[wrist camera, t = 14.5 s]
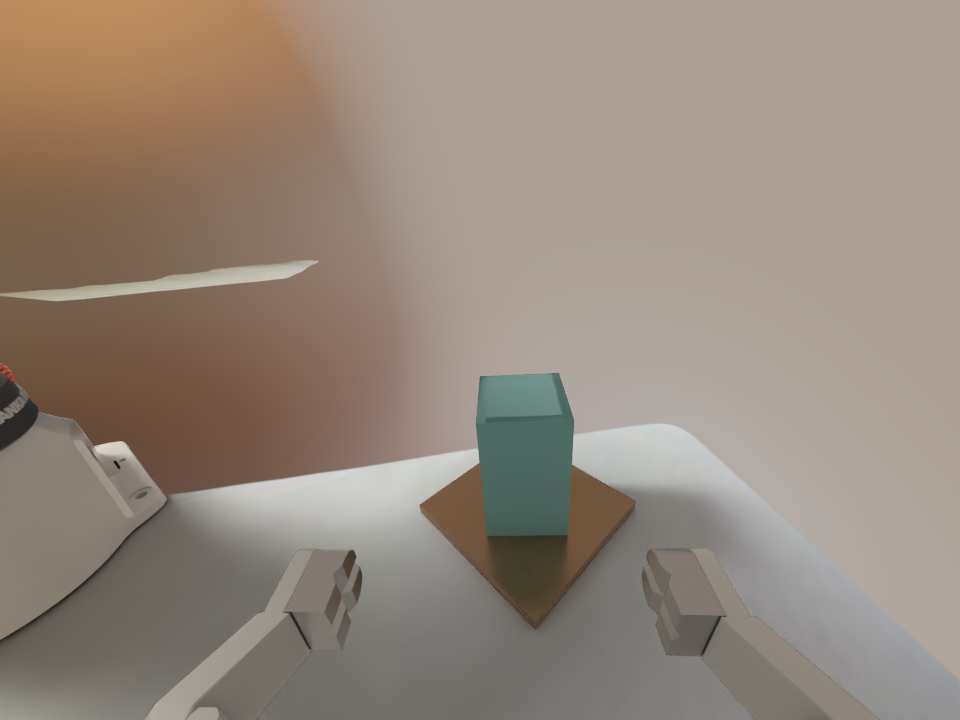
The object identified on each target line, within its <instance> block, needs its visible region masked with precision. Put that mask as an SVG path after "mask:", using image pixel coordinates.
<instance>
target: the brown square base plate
mask: <svg viewBox="0 0 960 720" xmlns="http://www.w3.org/2000/svg"><path fill="white" fill-rule="evenodd" d="M634 507H635V501H634V500H632V499H631V498H629V497H627V496H625V495H624V494H622V493H620V492H618V491H617V490H615V489H613V488H611V487H610V486H608V485H606V484H604V483H603V482H601V481H599V480H597V479H596V478H594V477H592V476H590V475H589V474H587V473H585V472H583V471H582V470H580V469H578V468H576V467H575V466H573V465H572V469H571V488H570V506H569V525H568V535H536V536H487V534H486V523H485V513H484V502H483V492H482V482H481V471H480V463H479V464H477V465H476V466H474V467H473V468H472V469H470V470H469V471H467V472H466V473H464V474H463V475H462V476H460V477H459V478H457V479H456V480H454V481H453V482H452V483H450V484H449V485H447V486H446V487H444V488H443V489H442V490H440V491H439V492H437V493H436V494H434V495H433V496H432V497H430V498H429V499H427V500H426V501H425V502H423V503H422V504H420V509H421V512H422V513H423V514H424V515H425V516H426V518H427V519H428V520H429V521H430V522H431V523H432V524H433V525H434V526H435V527H436V528H437V529H438V530H439V531H440V532H441V533H442V534H443V535H444V536H445V537H446V538H447V539H448V540H449V541H450V542H451V543H452V544H453V545H454V546H455V547H456V548H457V549H458V550H459V551H460V552H461V553H462V554H463V555H464V556H465V557H466V558H467V559H468V560H469V562H470V563H471V564H472V565H473V566H474V567H475V568H476V569H477V570H478V571H479V572H480V573H481V574H482V575H483V576H484V577H485V578H486V579H487V580H488V581H489V582H490V583H491V584H492V585H493V586H494V587H495V588H496V589H497V590H498V591H499V592H500V593H501V594H502V595H503V596H504V597H505V598H506V599H507V600H508V601H509V602H510V603H511V604H512V606H513V607H514V608H515V609H516V610H517V611H518V612H519V613H520V614H521V615H522V616H523V617H524V618H525V619H526V620H527V621H528V622H529V623H530V624H531V625H532V626H533V627H534V628H535V629H536V628H537V627H538V625H539V624H540V623H541V622H542V621H543V619H544V618H545V617H546V616H547V615H548V613H549V612H550V611H551V610H552V608H553V607H554V606H555V605H556V604H557V602H558V601H559V600H560V599H561V597H562V596H563V595H564V594H565V593H566V591H567V590H568V589H569V588H570V586H571V585H572V584H573V583H574V582H575V580H576V579H577V578H578V577H579V575H580V574H581V573H582V572H583V571H584V569H585V568H586V567H587V566H588V564H589V563H590V562H591V561H592V560H593V558H594V557H595V556H596V555H597V553H598V552H599V551H600V550H601V549H602V547H603V546H604V545H605V544H606V543H607V541H608V540H609V539H610V538H611V536H612V535H613V534H614V533H615V532H616V530H617V529H618V528H619V527H620V525H621V524H622V523H623V522H624V521H625V519H626V518H627V517H628V516H629V514H630V513H631V512H632V511H633V510H634Z"/></svg>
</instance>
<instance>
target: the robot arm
mask: <svg viewBox="0 0 960 720" xmlns="http://www.w3.org/2000/svg"><path fill="white" fill-rule="evenodd" d="M8 369H9V368H8V367H7V366H4V364H2V363H0V640H1V639H2V638H4V637H6V636H8V635H9V634H11V633H13V632H14V631H16V630H18V629H19V628H21V627H22V626H24V625H25V624H27V623H29V622H30V621H32V620H33V619H35V618H36V617H38V616H39V615H41V614H42V613H44V612H45V611H46V610H48V609H49V608H51V607H52V606H53V605H55V604H56V603H58V602H59V601H60V600H62V599H63V598H64V597H66V596H67V595H68V594H69V593H71V592H72V591H73V590H74V589H76V588H77V587H78V586H79V585H80V584H82V583H83V582H84V581H85V580H86V579H87V578H88V577H90V576H91V575H92V574H93V573H94V572H95V571H96V570H97V569H98V568H99V567H100V566H101V565H102V564H103V563H104V562H105V561H106V560H107V559H108V558H109V557H110V556H111V555H112V554H113V553H114V551H115V550H116V549H117V548H118V547H119V545H120V544H121V543H122V542H123V541H124V540H125V538H126V537H127V536H128V535H129V534H130V533H131V532H132V531H133V530H134V529H135V528H137V527H138V526H139V525H141V524H142V523H143V522H144V521H146V520H147V519H148V518H150V517H151V516H152V515H153V514H154V513H156V512H157V511H158V510H159V509H160V508H161V507H162V506H163V505H164V504H165V502H166V500H167V498H166V496H165V495H164V493H163V492H162V491H161V490H160V488H159V487H158V485H157V484H156V483H155V481H154V480H153V479H152V477H151V476H150V474H149V473H148V472H147V470H146V469H145V468H144V466H143V465H142V464H141V462H140V461H139V459H138V458H137V457H136V455H135V454H134V453H133V451H132V450H131V449H130V448H129V447H128V445H127V444H126V443H125V442H122V441H121V442H112V443H107V444H102V445H97V446H93V445H92V443H91V442H90V441H89V439H88V438H87V436H86V435H85V434H84V432H83V431H82V430H81V428H80V427H79V426H78V424H77V423H76V422H75V421H74V420H71V419H66V418H61V417H56V416H52V415H48V414H43V413H39V410H38V407H37V406H36V404H35V403H33V402H32V400H31V399H30V398H28V397H27V396H28V395H27V393H26V392H25V391H24V390H23V389H22V388H21V387H20V386H19V385H17V384H16V380H15V377H14V375H12V371H11V370H8ZM646 558H647V560H648V563H649V564H647V565H646V566H645V567H644V568H643V573H642V582H643V589H644V593H645V597H646V600H647V603H648V605H649V607H650V608H651V609H652V610H653V611H654V612H655V613H656V614H657V615H658V617H657V621H656V628H657V631H658V633H659V636H660V639H661V642H662V645H663V647H664V650H665V653H666V655H677V656H699V657H702V660H703V661H704V662H705V663H706V664H707V666H708V667H709V668H710V669H711V670H712V671H713V673H714V674H715V675H716V676H717V677H718V678H719V679H720V681H721V682H722V683H723V684H724V685H725V686H726V688H727V689H728V690H729V691H730V692H731V693H732V694H733V696H734V697H735V698H736V699H737V700H738V701H739V703H740V704H741V705H742V706H743V707H744V708H745V710H746V711H747V712H748V713H749V714H750V715H751V716H752V718H753V719H754V720H880V719H879V718H878V717H877V716H875V715H874V714H873V713H872V712H871V711H869V710H868V709H867V708H866V707H865V706H863V705H862V704H861V703H860V702H859V701H857V700H856V699H855V698H854V697H853V696H851V695H850V694H849V693H848V692H847V691H845V690H844V689H843V688H842V687H840V686H839V685H838V684H837V683H836V682H834V681H833V680H832V679H831V678H830V677H828V676H827V675H826V674H825V673H824V672H822V671H821V670H820V669H819V668H818V667H816V666H815V665H814V664H813V663H812V662H810V661H809V660H808V659H807V658H806V657H804V656H803V655H802V654H801V653H800V652H798V651H797V650H796V649H795V648H794V647H792V646H791V645H790V644H789V643H788V642H786V641H785V640H784V639H783V638H782V637H780V636H779V635H778V634H777V633H776V632H774V631H773V630H772V629H771V628H770V627H768V626H767V625H766V624H765V623H764V622H762V621H761V620H760V619H759V618H758V617H751V616H750V615H749V613H748V611H747V609H746V608H745V606H744V604H743V603H742V601H741V599H740V597H739V596H738V594H737V592H736V591H735V589H734V587H733V585H732V584H731V582H730V580H729V579H728V577H727V575H726V573H725V572H724V570H723V568H722V567H721V565H720V563H719V561H718V560H717V558H716V556H715V555H714V553H713V552H712V551H711V550H709V549H687V548H681V549H650V550H649V551H648V553H647V556H646ZM355 560H356V555H355V552H354V550H319V549H299V550H298V551H297V552H296V553H295V555H294V556H293V557H292V559H291V561H290V563H289V565H288V567H287V569H286V571H285V573H284V574H283V576H282V578H281V580H280V582H279V584H278V586H277V588H276V590H275V592H274V593H273V595H272V597H271V599H270V601H269V603H268V605H267V607H266V609H265V611H264V612H259V613H257V614H256V615H255V616H254V617H253V618H251V619H250V620H249V621H248V622H247V623H246V624H245V625H244V626H242V627H241V628H240V629H239V630H238V631H237V632H236V633H235V634H233V635H232V636H231V637H230V638H229V639H228V640H227V641H225V642H224V643H223V644H222V645H221V646H220V647H219V648H218V649H216V650H215V651H214V652H213V653H212V654H211V655H210V656H209V657H207V658H206V659H205V660H204V661H203V662H202V663H201V664H200V665H198V666H197V667H196V668H195V669H194V670H193V671H192V672H191V673H189V674H188V675H187V676H186V677H185V678H184V679H183V680H181V681H180V682H179V683H178V684H177V685H176V686H175V687H174V688H172V689H171V690H170V691H169V692H168V693H167V694H166V695H165V696H163V697H162V698H161V699H160V700H159V701H158V702H157V703H156V704H155V705H154V707H153V708H152V710H151V711H150V713H149V714H148V716H147V718H146V719H145V720H257V718H258V717H259V716H260V715H261V713H262V712H263V711H264V710H265V708H266V707H267V706H268V705H269V704H270V702H271V701H272V700H273V699H274V697H275V696H276V695H277V694H278V692H279V691H280V690H281V689H282V687H283V686H284V685H285V684H286V683H287V681H288V680H289V679H290V678H291V676H292V675H293V674H294V673H295V671H296V670H297V669H298V668H299V667H300V665H301V664H302V663H303V662H304V660H305V659H306V658H307V657H308V655H309V654H310V651H315V650H342V649H343V646H344V643H345V639H346V636H347V633H348V630H349V627H350V624H351V619H350V616H349V611H350V610H351V609H352V608H353V607H354V606H355V605H356V604H357V602H358V598H359V595H360V591H361V584H362V572H361V569H360V567H359V566H358V565H357V564H355V563H354V562H355Z"/></svg>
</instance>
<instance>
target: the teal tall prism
mask: <svg viewBox="0 0 960 720" xmlns="http://www.w3.org/2000/svg"><path fill="white" fill-rule="evenodd" d="M478 395H479V396H478V407H477V418H476V429H477V439H478V450H479V461H480V471H481V482H482V492H483V502H484V513H485V523H486V534H487V536H536V535H568V525H569V506H570V488H571V469H572V450H573V432H574V419H573V416H572V412H571V409H570V406H569V403H568V400H567V397H566V394H565V391H564V387H563V384H562V381H561V378H560V376H559V373H547V374H524V375H502V376H480V383H479V394H478Z"/></svg>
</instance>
